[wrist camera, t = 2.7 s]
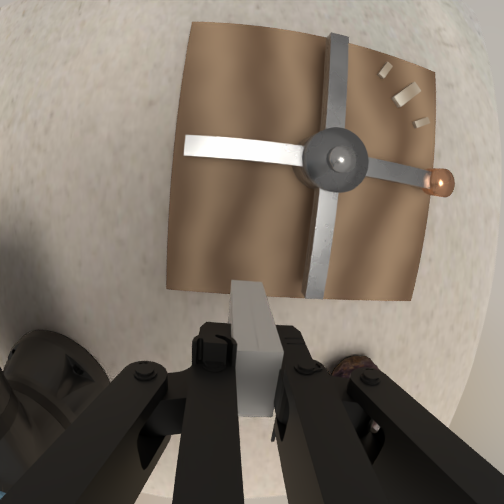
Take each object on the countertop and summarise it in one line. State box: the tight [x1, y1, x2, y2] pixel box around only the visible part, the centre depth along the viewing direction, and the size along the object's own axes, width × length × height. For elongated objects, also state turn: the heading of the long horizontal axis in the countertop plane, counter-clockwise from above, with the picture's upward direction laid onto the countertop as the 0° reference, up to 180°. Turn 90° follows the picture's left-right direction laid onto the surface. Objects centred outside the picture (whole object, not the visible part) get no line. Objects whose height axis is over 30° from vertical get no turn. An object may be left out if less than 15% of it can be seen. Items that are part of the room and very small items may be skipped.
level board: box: [166, 22, 436, 301], centre depth 28 cm, size 26×26×2 cm
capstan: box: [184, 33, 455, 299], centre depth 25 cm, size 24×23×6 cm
